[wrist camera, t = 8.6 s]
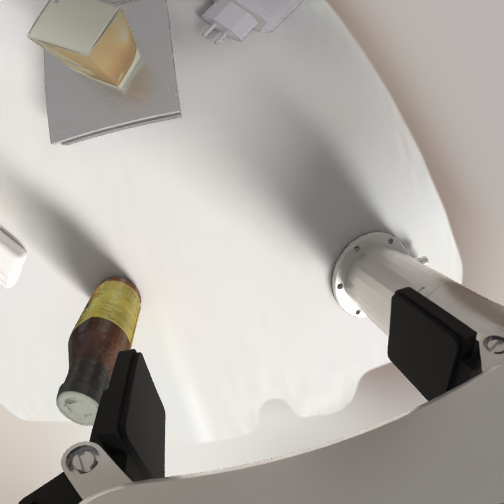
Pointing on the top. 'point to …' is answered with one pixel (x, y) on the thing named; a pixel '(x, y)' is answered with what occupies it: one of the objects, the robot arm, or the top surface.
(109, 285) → the sauce bottle
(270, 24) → the charger
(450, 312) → the robot arm
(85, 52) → the skincare box
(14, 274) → the soap
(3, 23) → the top surface
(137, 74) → the pan
